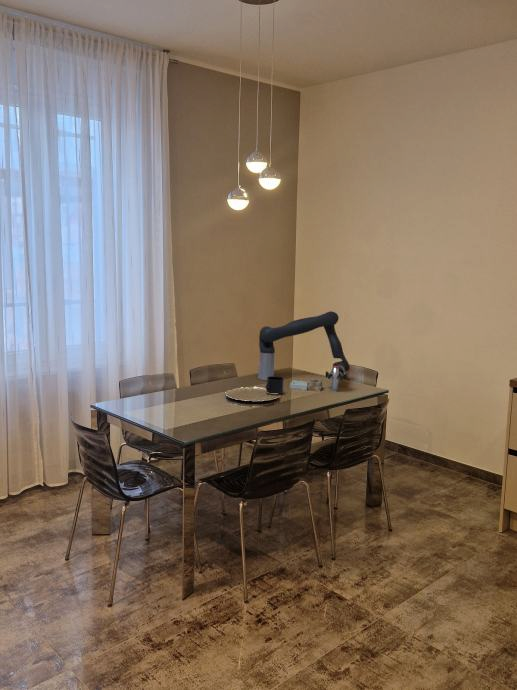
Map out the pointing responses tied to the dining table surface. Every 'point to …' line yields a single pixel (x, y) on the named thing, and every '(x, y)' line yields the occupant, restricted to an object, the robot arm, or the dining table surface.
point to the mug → (274, 384)
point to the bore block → (314, 384)
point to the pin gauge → (335, 378)
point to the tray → (298, 385)
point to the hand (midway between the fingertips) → (334, 377)
